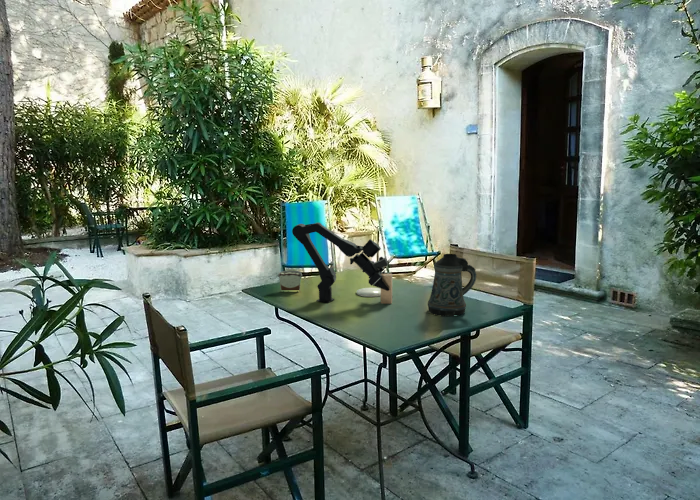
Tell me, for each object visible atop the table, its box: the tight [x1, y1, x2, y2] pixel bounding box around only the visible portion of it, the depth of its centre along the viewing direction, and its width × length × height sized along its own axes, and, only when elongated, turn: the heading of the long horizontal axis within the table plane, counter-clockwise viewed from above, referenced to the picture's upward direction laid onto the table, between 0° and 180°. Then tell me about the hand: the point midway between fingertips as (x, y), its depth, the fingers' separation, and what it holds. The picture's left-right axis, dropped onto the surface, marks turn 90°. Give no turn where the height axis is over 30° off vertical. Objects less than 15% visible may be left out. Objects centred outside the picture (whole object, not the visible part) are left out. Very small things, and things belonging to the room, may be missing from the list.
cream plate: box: [356, 287, 381, 298], centre depth 274 cm, size 14×14×1 cm
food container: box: [277, 270, 303, 291], centre depth 281 cm, size 12×6×10 cm, turn 84°
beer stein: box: [427, 253, 477, 317], centre depth 239 cm, size 16×19×25 cm
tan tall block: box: [380, 273, 393, 305], centre depth 256 cm, size 5×5×13 cm
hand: (389, 288), depth 256 cm, fingers open, 8 cm apart
